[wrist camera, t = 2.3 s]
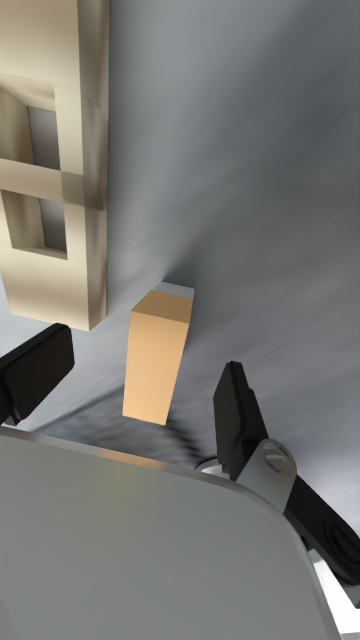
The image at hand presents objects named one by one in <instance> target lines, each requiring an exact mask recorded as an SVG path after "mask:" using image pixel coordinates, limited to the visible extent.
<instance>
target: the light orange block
mask: <svg viewBox="0 0 360 640" xmlns="http://www.w3.org/2000/svg"><path fill="white" fill-rule="evenodd" d="M194 291H195V289H194V288H189V287H185V286H180V285H176V284H171V283H167V282H162V281H161V282H160V284H159V285H158V286H157V287H156V288H155V289H154V290H151V291H150V292H149V293H148V294H147V295H146V296H145V297H144V298H143V299H142V300H141V301H140V302H139V303H138V304H137V305H136V306H135V307H134V308H133V309H132V310H131V314H130V327H129V340H128V353H127V366H126V379H125V391H124V404H123V415H124V416H128V417H132V418H136V419H140V420H144V421H149V422H153V423H157V424H161V425H165V423H166V419H167V415H168V410H169V406H170V402H171V398H172V394H173V390H174V386H175V382H176V377H177V373H178V369H179V365H180V361H181V357H182V353H183V349H184V344H185V340H186V336H187V332H188V328H189V324H190V317H191V311H192V305H193V297H194Z"/></svg>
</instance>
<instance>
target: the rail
mask: <svg viewBox="0 0 360 640" xmlns="http://www.w3.org/2000/svg"><path fill="white" fill-rule="evenodd" d="M109 40H110V0H0V272H1V276H2V280H3V284H4V288H5V292H6V296H7V300H8V304H9V308H10V313H11V314H15V315H20V316H24V317H28V318H33V319H37V320H41V321H46V322H50V323H61V324H66V325H68V326H69V327H72V328H76V329H80V330H85V331H90V330H91V329H93V328H94V327H95V326H96V325H97V324H99V323H100V322H101V321H102V320H103V319H105V318H106V289H107V206H108V123H109ZM27 106H30V107H35V108H40V109H45V110H50V111H55V112H56V119H57V131H58V144H59V156H60V169H61V171H59V170H55V169H50V168H45V167H40V166H35V164H34V156H33V149H32V141H31V133H30V125H29V117H28V110H27ZM39 198H41V199H46V200H50V201H55V202H60V203H63V206H64V219H65V231H66V244H67V251H64V250H59V249H55V248H50V247H45V242H44V234H43V226H42V218H41V211H40V203H39Z"/></svg>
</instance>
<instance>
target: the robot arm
mask: <svg viewBox="0 0 360 640" xmlns="http://www.w3.org/2000/svg"><path fill="white" fill-rule="evenodd" d="M74 364H75V361H74V352H73V343H72V334H71V329H70V328H69V326H68V325H66V324H61V323H54V324H53V325H51V326H50V327H48V328H47V329H45V330H43V331H42V332H40V333H39V334H37V335H35V336H34V337H32V338H31V339H29V340H28V341H26V342H24V343H23V344H21V345H20V346H18V347H17V348H15V349H13V350H12V351H10V352H9V353H7V354H6V355H4V356H2V357H1V358H0V425H1V424H2V423H3V422H4V423H5V424H7V425H12V426H16V425H17V424H18V423H19V422H20V421H21V420H24V419H26V418H27V417H28V416H29V415H30V414H31V413H32V412H33V411H34V409H35V408H36V407H37V406H38V405H39V404H40V403H41V402H42V401H43V400H44V399H45V398H46V397H47V395H48V394H49V393H50V392H51V391H52V390H53V389H54V388H55V387H56V386H57V385H58V384H59V383H60V381H61V380H62V379H63V378H64V377H65V376H66V375H67V374H68V373H69V372H70V371H71V370H72V368H73V367H74ZM213 401H214V414H215V428H216V442H217V455H218V458H217V459H213V460H209V461H207V462H204V463H203V464H201V465H199V466H198V467H197V468H196V469H195V470H193V469H189V468H185V467H181V466H177V465H173V464H169V463H165V462H160V461H156V460H152V459H147V458H143V457H139V456H134V455H130V454H126V453H121V452H117V451H112V450H108V449H103V448H99V447H95V446H90V445H86V444H81V443H77V442H72V441H68V440H63V439H59V438H54V437H50V436H45V435H40V434H36V433H31V432H27V431H22V430H18V429H13V428H8V427H4V426H0V640H342V639H341V637H340V634H339V631H340V633H341V635H342V637H343V639H344V640H360V538H359V537H358V535H357V534H356V533H355V531H354V530H353V529H352V528H351V527H350V526H349V525H348V524H347V523H346V522H345V521H344V520H343V519H342V518H341V517H340V516H339V515H338V514H337V513H336V512H335V511H334V510H333V509H332V508H331V507H330V506H329V505H328V504H327V503H326V502H325V501H324V500H323V499H322V498H321V497H320V496H319V495H318V494H317V493H316V492H315V491H314V490H313V489H312V488H311V487H310V486H309V485H308V484H307V483H306V482H305V481H304V480H302V479H301V478H300V477H299V476H298V475H297V474H296V473H297V468H296V463H295V461H294V459H293V457H292V456H291V454H290V453H289V451H288V450H287V449H286V448H285V447H284V446H283V445H281V444H280V443H279V442H277V441H275V440H272V439H269V437H268V434H267V431H266V428H265V425H264V421H263V418H262V415H261V412H260V409H259V406H258V403H257V400H256V397H255V394H254V391H253V390H252V389H250V388H249V386H248V383H247V380H246V376H245V373H244V370H243V366H242V364H241V363H239V362H235V361H230V363H226V366H225V368H224V371H223V373H222V376H221V378H220V381H219V383H218V386H217V388H216V391H215V393H214V398H213ZM331 611H332V612H331ZM338 630H339V631H338Z"/></svg>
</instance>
